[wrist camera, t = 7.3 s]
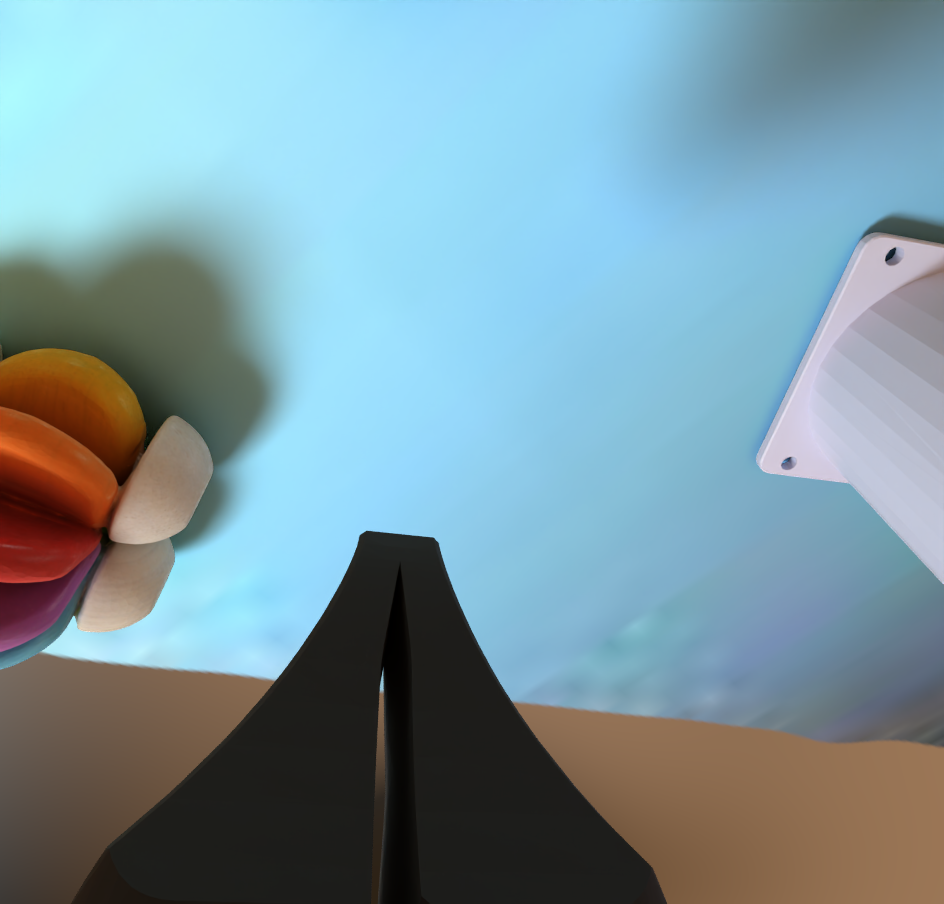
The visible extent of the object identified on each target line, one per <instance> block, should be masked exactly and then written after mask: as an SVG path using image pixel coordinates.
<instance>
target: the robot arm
mask: <svg viewBox="0 0 944 904" xmlns="http://www.w3.org/2000/svg"><path fill="white" fill-rule="evenodd" d="M894 247H896V252H895V255H894V256H893V257H892V258H891V259H890V260H888V261H885V257H886V254H887V253H888V252H889V251H890V250H891V249H893V248H894ZM788 457H791V459H790V460H789V461H788V462H786V463H782V462H783V460H784V459H786V458H788ZM756 461H757V464H758V465H759V467H760V468H761V469H762V470H763V471H764V472H766V473H771V474H779V475H787V476H795V477H803V478H811V479H819V480H827V481H835V482H843V483H850V484H851V485H852V486H853V487H854V488H855V489H856V490H857V492H858V493H859V494H860V495H861V496H862V497H863V498H864V499H865V500H866V501H867V502H868V503H869V504H870V506H871V507H872V508H873V509H874V510H875V511H876V512H877V513H878V514H879V515H880V516H881V517H882V519H883V520H884V521H885V522H886V523H887V524H888V525H889V526H890V527H891V528H892V529H893V530H894V532H895V533H896V534H897V535H898V536H899V537H900V538H901V539H902V540H903V541H904V542H905V543H906V544H907V546H908V547H909V548H910V549H911V550H912V551H913V552H914V553H915V554H916V555H917V556H918V557H919V559H920V560H921V561H922V562H923V563H924V564H925V565H926V566H927V567H928V568H929V569H930V570H931V572H932V573H933V574H934V575H935V576H936V577H937V578H938V579H939V580H940V581H941V582H942V583H943V585H944V244H941V243H936V242H930V241H925V240H919V239H914V238H908V237H903V236H898V235H892V234H887V233H881V232H875V233H871V234H869V235H866V236H865V237H864V238H863V239H862V240H860V242H859V243H858V245H857V246H856V248H855V250H854V252H853V254H852V256H851V258H850V260H849V262H848V265H847V267H846V269H845V271H844V273H843V275H842V277H841V279H840V281H839V283H838V286H837V288H836V290H835V292H834V294H833V296H832V298H831V300H830V302H829V304H828V307H827V309H826V311H825V313H824V315H823V317H822V319H821V321H820V323H819V325H818V328H817V330H816V332H815V334H814V336H813V338H812V340H811V342H810V344H809V346H808V349H807V351H806V353H805V355H804V357H803V359H802V361H801V363H800V365H799V367H798V370H797V372H796V374H795V376H794V378H793V380H792V382H791V384H790V386H789V389H788V391H787V393H786V395H785V397H784V399H783V401H782V403H781V405H780V407H779V410H778V412H777V414H776V416H775V418H774V420H773V422H772V424H771V426H770V428H769V431H768V433H767V435H766V437H765V439H764V441H763V443H762V445H761V447H760V449H759V452H758V454H757V457H756ZM382 671H383V677H384V736H385V815H384V827H383V841H382V856H381V870H380V883H379V896H378V904H667V902H666V900H665V897H664V895H663V892H662V890H661V887H660V885H659V882H658V880H657V878H656V875H655V873H654V870H653V868H652V867H651V866H650V865H649V864H648V863H647V862H646V861H645V860H644V859H643V858H642V857H641V856H640V855H639V854H638V853H637V852H636V851H635V850H634V849H633V848H632V847H631V846H630V845H629V844H628V843H627V842H626V841H625V840H624V839H623V838H622V837H621V836H620V835H619V834H618V833H617V832H616V831H615V830H614V829H613V828H612V827H611V826H610V825H609V824H608V823H607V822H606V821H605V820H604V818H603V817H602V816H601V815H600V814H599V813H598V812H597V811H596V810H595V808H594V807H593V806H592V805H591V804H590V803H589V802H588V801H587V799H585V797H584V796H583V795H582V794H581V793H580V792H579V791H578V789H577V788H576V787H575V786H574V785H573V783H572V782H571V781H570V780H569V778H568V777H567V776H566V775H565V773H564V772H563V771H562V770H561V768H560V767H559V766H558V764H557V763H556V762H555V761H554V760H553V758H552V757H551V756H550V754H549V753H548V752H547V751H546V749H545V748H544V747H543V746H542V744H541V743H540V742H539V741H538V739H537V738H536V737H535V735H534V734H533V732H532V731H531V730H530V728H529V726H528V725H527V724H526V722H525V721H524V719H523V718H522V716H521V715H520V714H519V712H518V711H517V709H516V708H515V706H514V704H513V703H512V701H511V700H510V698H509V697H508V695H507V694H506V692H505V690H504V689H503V687H502V686H501V684H500V682H499V681H498V679H497V677H496V675H495V674H494V672H493V670H492V668H491V667H490V665H489V663H488V661H487V659H486V657H485V656H484V654H483V652H482V650H481V648H480V646H479V644H478V642H477V640H476V638H475V636H474V634H473V632H472V630H471V628H470V626H469V624H468V622H467V620H466V617H465V615H464V613H463V611H462V609H461V606H460V604H459V602H458V599H457V597H456V595H455V592H454V590H453V587H452V584H451V582H450V579H449V577H448V574H447V571H446V568H445V565H444V562H443V558H442V555H441V551H440V547H439V543H438V542H437V541H436V540H435V539H434V538H432V537H422V536H412V535H402V534H393V533H383V532H373V531H366V532H364V533H363V534H361V535H360V537H359V541H358V545H357V548H356V550H355V553H354V556H353V558H352V561H351V563H350V565H349V567H348V569H347V571H346V574H345V576H344V578H343V580H342V582H341V584H340V585H339V587H338V589H337V591H336V592H335V594H334V596H333V598H332V599H331V601H330V603H329V605H328V606H327V608H326V610H325V612H324V613H323V615H322V616H321V618H320V620H319V621H318V623H317V624H316V626H315V627H314V629H313V630H312V632H311V633H310V635H309V636H308V638H307V639H306V641H305V642H304V644H303V645H302V647H301V648H300V649H299V651H298V652H297V654H296V655H295V656H294V658H293V659H292V660H291V662H290V663H289V664H288V666H287V667H286V668H285V670H284V671H283V672H282V674H281V675H280V676H279V677H278V679H277V680H276V681H275V682H274V684H273V685H272V686H271V687H270V689H269V690H268V691H267V692H266V693H265V695H264V696H263V697H262V698H261V699H260V701H259V702H258V703H257V704H256V705H255V706H254V707H253V708H252V710H251V711H250V712H249V713H248V714H247V715H246V717H245V718H244V719H243V720H242V721H241V722H240V723H239V724H238V725H237V727H236V728H235V729H234V730H233V731H232V732H231V733H230V734H229V735H228V736H227V738H225V739H224V740H223V741H222V742H221V744H219V746H217V747H216V748H215V749H214V750H213V751H212V752H211V753H210V754H209V755H208V756H207V757H206V758H205V759H204V760H203V761H202V762H201V763H200V764H199V765H198V766H197V767H196V768H195V769H194V770H193V771H192V772H191V773H190V774H189V775H188V776H187V777H186V778H185V779H184V780H183V781H182V782H181V783H180V784H179V785H177V786H176V787H175V788H174V789H173V790H172V791H171V792H170V793H169V794H168V795H167V796H166V797H164V798H163V799H162V800H161V801H160V802H159V803H157V804H156V805H155V806H154V807H153V808H152V809H150V810H149V811H148V812H147V813H146V814H145V815H143V816H142V817H141V818H140V819H139V820H138V821H136V822H135V823H134V824H133V825H132V826H131V827H129V828H128V829H127V830H126V831H125V832H124V833H123V834H121V835H120V836H119V837H118V838H117V839H115V840H114V841H113V842H112V843H111V844H110V845H109V846H108V847H107V848H106V849H105V851H104V852H103V854H102V855H101V857H100V858H99V860H98V861H97V863H96V864H95V866H94V867H93V869H92V870H91V872H90V873H89V875H88V876H87V878H86V879H85V881H84V883H83V885H82V886H81V888H80V889H79V891H78V893H77V894H76V896H75V898H74V899H73V901H72V903H71V904H371V883H372V849H373V848H372V847H373V817H374V793H375V770H376V748H377V728H378V708H379V692H380V682H381V677H382Z"/></svg>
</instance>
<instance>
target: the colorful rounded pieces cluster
mask: <svg viewBox="0 0 944 904" xmlns="http://www.w3.org/2000/svg"><path fill="white" fill-rule="evenodd" d="M146 435H147V432H146V423H145V421H144V417H143V413H142V410H141V407H140V405H139V402H138V400H137V397H136V395H135V393H134V392H133V390H132V389H131V388H130V387H129V385H128V384H127V383H126V382H125V381H124V380H123V379H122V377H121V376H120V375H119V374H118V373H117V372H115V371H114V370H113V369H112V368H111V367H110V366H108V365H107V364H106V363H104V362H103V361H101V360H99V359H98V358H96V357H94V356H90V355H87V354H84V353H80V352H77V351H73V350H67V349H55V348H44V349H35V350H29V351H25V352H22V353H19V354H16V355H13V356H11V357H8V358H7V359H5V360H3V353H2V348H1V344H0V669H4V668H7V667H10V666H13V665H16V664H18V663H20V662H22V661H25V660H27V659H28V658H30V657H32V656H34V655H36V654H37V653H39V652H40V651H42V650H44V649H45V648H46V647H48V646H49V645H50V644H51V643H53V642H54V641H55V640H56V639H57V638H58V637H59V636H60V635H61V634H62V633H63V631H64V630H65V629H66V627H67V626H68V624H69V622H70V620H71V619H72V617H73V616H75V618H76V621H77V627H78V629H79V630H82V631H86V632H108V631H114V630H119V629H122V628H125V627H127V626H130V625H132V624H134V623H136V622H138V621H140V620H141V619H143V618H144V617H146V616H147V615H148V614H149V613H150V612H151V611H152V609H153V608H154V606H155V604H156V602H157V600H158V598H159V596H160V594H161V591H162V589H163V587H164V585H165V583H166V581H167V579H168V576H169V574H170V572H171V569H172V567H173V565H174V562H175V554H174V549H173V545H172V543H171V540H170V538H169V537H171V536H173V535H175V534H177V533H179V532H180V531H182V530H183V529H184V528H185V527H186V526H187V525H188V523H189V521H190V519H191V518H192V516H193V514H194V512H195V510H196V508H197V506H198V504H199V502H200V499H201V497H202V495H203V493H204V491H205V489H206V487H207V485H208V483H209V481H210V479H211V476H212V473H213V461H212V458H211V454H210V451H209V449H208V447H207V444H206V443H205V441H204V440H203V438H202V437H201V435H200V434H199V433H198V432H197V431H196V430H195V429H194V428H193V427H192V426H191V425H190V424H188V423H187V422H186V421H185V420H183V419H182V418H180V417H179V416H174V415H173V416H170V417H169V418H167V419H166V421H165V422H164V423H163V424H162V426H161V427H160V429H159V430H158V431H157V433H156V435H155V436H154V438H153V439H152V441H151V443H150V444H149V446H148V448H147V450H146V452H145V449H144V442H145V439H146Z"/></svg>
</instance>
